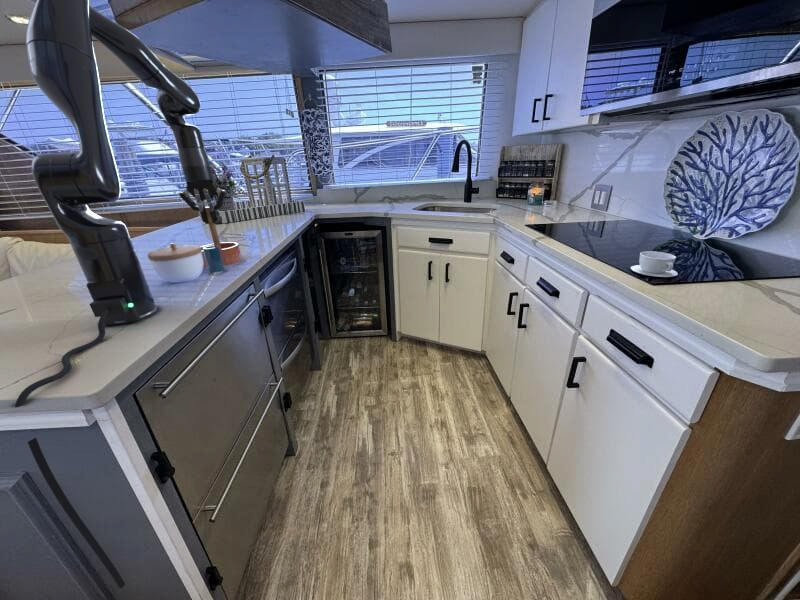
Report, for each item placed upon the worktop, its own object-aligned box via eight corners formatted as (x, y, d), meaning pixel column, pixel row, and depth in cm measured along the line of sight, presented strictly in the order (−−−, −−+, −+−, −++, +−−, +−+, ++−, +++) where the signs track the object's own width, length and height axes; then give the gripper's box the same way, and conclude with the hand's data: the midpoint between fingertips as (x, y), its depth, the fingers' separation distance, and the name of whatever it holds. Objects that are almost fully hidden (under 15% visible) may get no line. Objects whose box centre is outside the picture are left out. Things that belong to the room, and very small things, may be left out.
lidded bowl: (173, 291, 85) (159, 250, 81) (149, 284, 91) (135, 246, 87) (218, 277, 95) (207, 240, 91) (194, 271, 101) (183, 237, 97)
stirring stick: (224, 262, 107) (209, 207, 100) (218, 263, 107) (203, 207, 100) (225, 261, 109) (211, 206, 102) (219, 261, 109) (204, 207, 102)
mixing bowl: (238, 267, 104) (233, 248, 102) (196, 271, 102) (191, 252, 99) (245, 257, 115) (241, 240, 113) (208, 260, 113) (203, 244, 110)
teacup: (621, 267, 89) (625, 251, 87) (656, 265, 89) (661, 249, 87) (648, 279, 80) (653, 261, 78) (687, 277, 80) (694, 259, 78)
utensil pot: (223, 273, 98) (216, 248, 95) (208, 275, 97) (200, 249, 94) (226, 269, 102) (220, 244, 99) (212, 271, 101) (205, 246, 98)
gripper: (165, 165, 91) (183, 227, 98) (217, 163, 94) (231, 223, 101) (175, 165, 98) (192, 223, 105) (223, 163, 101) (237, 219, 108)
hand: (211, 223), depth 103 cm, fingers closed on stirring stick
